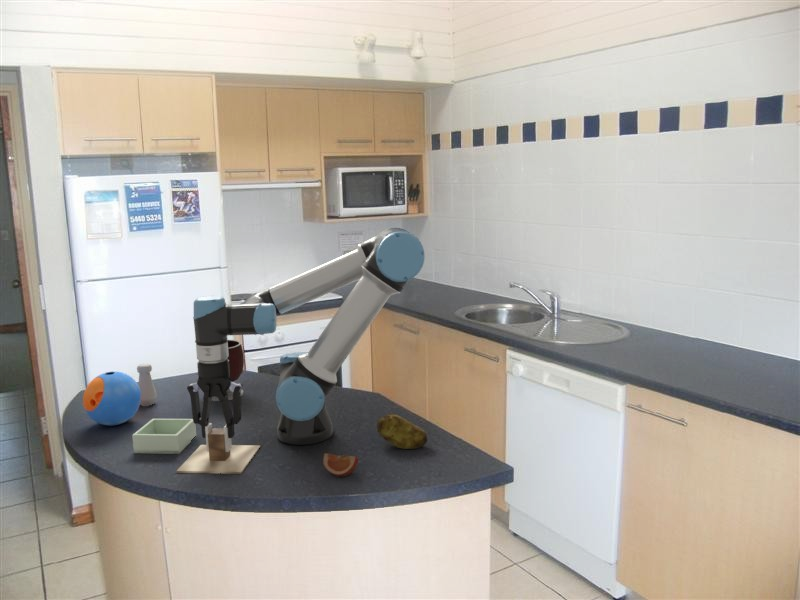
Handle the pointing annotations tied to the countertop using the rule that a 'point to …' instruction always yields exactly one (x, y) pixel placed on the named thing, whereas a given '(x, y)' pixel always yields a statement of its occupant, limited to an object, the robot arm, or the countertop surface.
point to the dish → (164, 436)
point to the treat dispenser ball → (112, 398)
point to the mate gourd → (234, 364)
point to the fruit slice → (340, 464)
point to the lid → (219, 456)
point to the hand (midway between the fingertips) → (219, 449)
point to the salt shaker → (146, 385)
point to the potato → (401, 432)
